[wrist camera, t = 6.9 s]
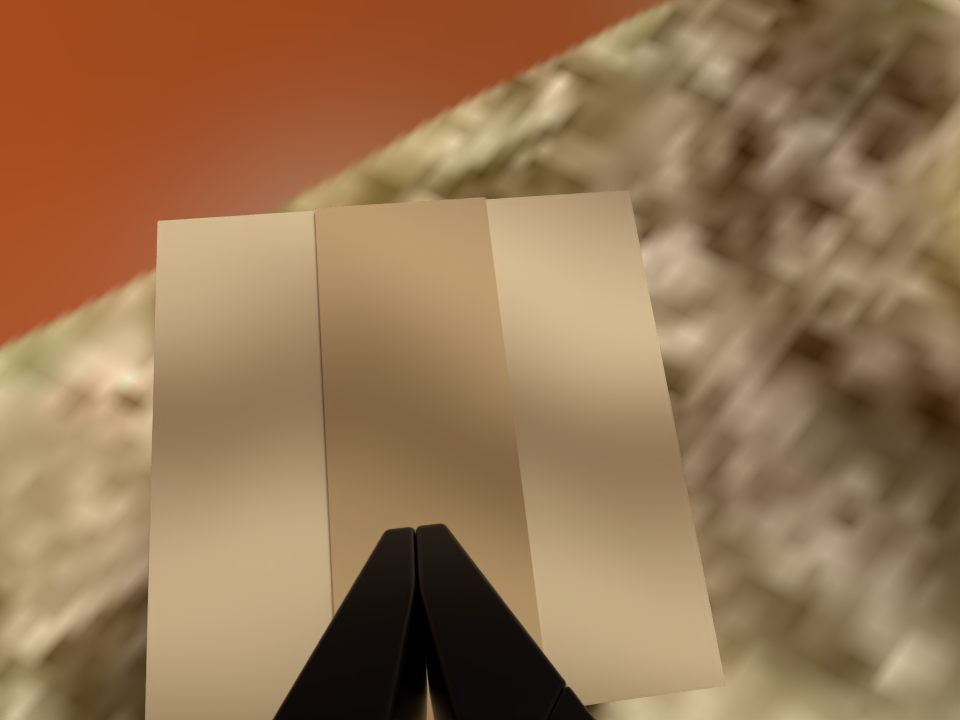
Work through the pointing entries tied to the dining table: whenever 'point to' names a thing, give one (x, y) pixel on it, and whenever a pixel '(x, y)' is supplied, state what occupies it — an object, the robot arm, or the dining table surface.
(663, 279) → the dining table surface
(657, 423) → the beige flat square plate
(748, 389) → the dining table surface
